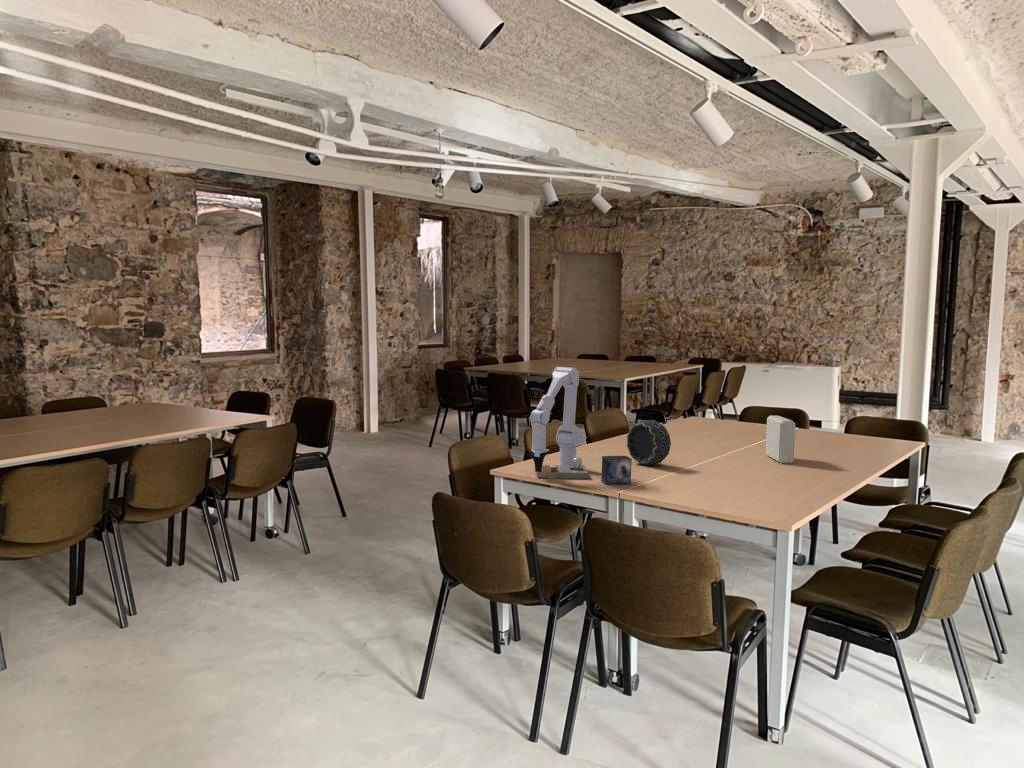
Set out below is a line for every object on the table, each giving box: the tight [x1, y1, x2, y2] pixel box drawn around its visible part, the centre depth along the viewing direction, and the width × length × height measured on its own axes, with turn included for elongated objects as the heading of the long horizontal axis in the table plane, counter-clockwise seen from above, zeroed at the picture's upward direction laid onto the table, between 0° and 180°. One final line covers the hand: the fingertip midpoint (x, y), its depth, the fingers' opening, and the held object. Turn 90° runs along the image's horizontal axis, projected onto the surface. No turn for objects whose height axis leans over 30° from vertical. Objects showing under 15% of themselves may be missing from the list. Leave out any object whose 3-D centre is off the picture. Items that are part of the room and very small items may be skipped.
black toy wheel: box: [626, 419, 672, 466], centre depth 337 cm, size 11×20×20 cm, turn 35°
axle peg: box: [573, 457, 583, 470], centre depth 312 cm, size 4×4×7 cm
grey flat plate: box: [534, 464, 590, 480], centre depth 312 cm, size 16×21×2 cm
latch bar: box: [541, 463, 552, 473], centre depth 311 cm, size 10×3×4 cm, turn 1°
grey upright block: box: [765, 415, 796, 464], centre depth 354 cm, size 21×8×20 cm, turn 179°
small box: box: [600, 455, 633, 485], centre depth 297 cm, size 11×6×10 cm, turn 101°
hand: (538, 471), depth 311 cm, fingers closed
